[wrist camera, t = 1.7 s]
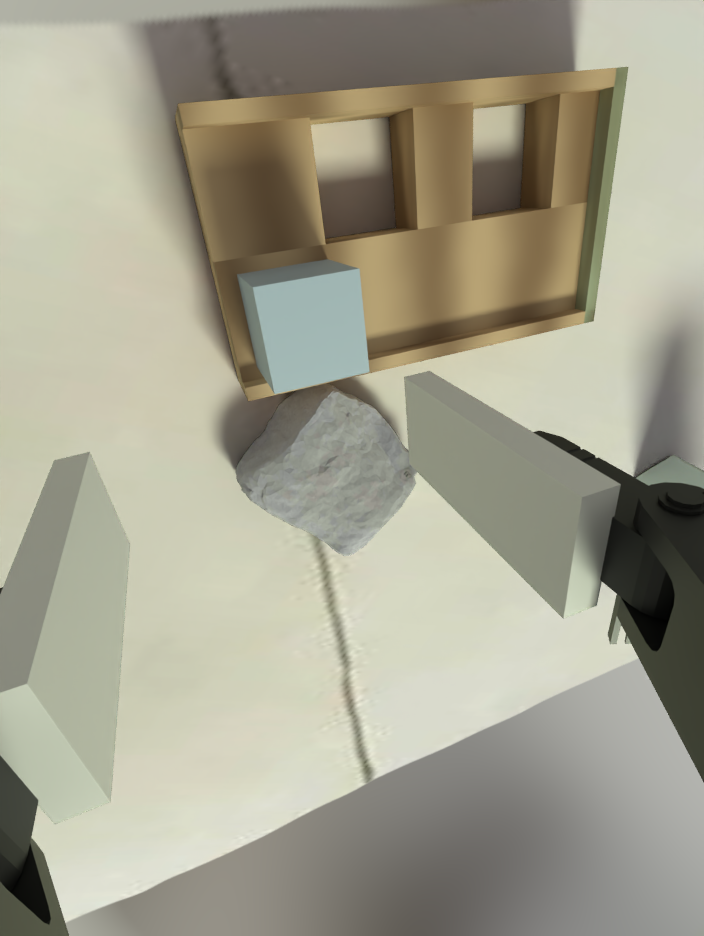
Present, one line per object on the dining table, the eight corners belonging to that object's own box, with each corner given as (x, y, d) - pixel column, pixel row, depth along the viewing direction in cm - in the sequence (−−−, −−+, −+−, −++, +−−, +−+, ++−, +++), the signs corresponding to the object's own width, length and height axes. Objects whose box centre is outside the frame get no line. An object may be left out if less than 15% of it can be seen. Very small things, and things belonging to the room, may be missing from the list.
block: (256, 366, 28) (274, 394, 24) (236, 274, 25) (252, 287, 21) (338, 348, 29) (369, 372, 25) (327, 259, 27) (359, 268, 22)
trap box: (238, 380, 31) (248, 401, 28) (175, 118, 24) (178, 103, 21) (553, 310, 37) (593, 321, 33) (575, 82, 30) (628, 66, 26)
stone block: (301, 358, 34) (219, 477, 33) (332, 367, 30) (239, 502, 30) (405, 444, 40) (337, 544, 40) (441, 461, 37) (367, 571, 36)
